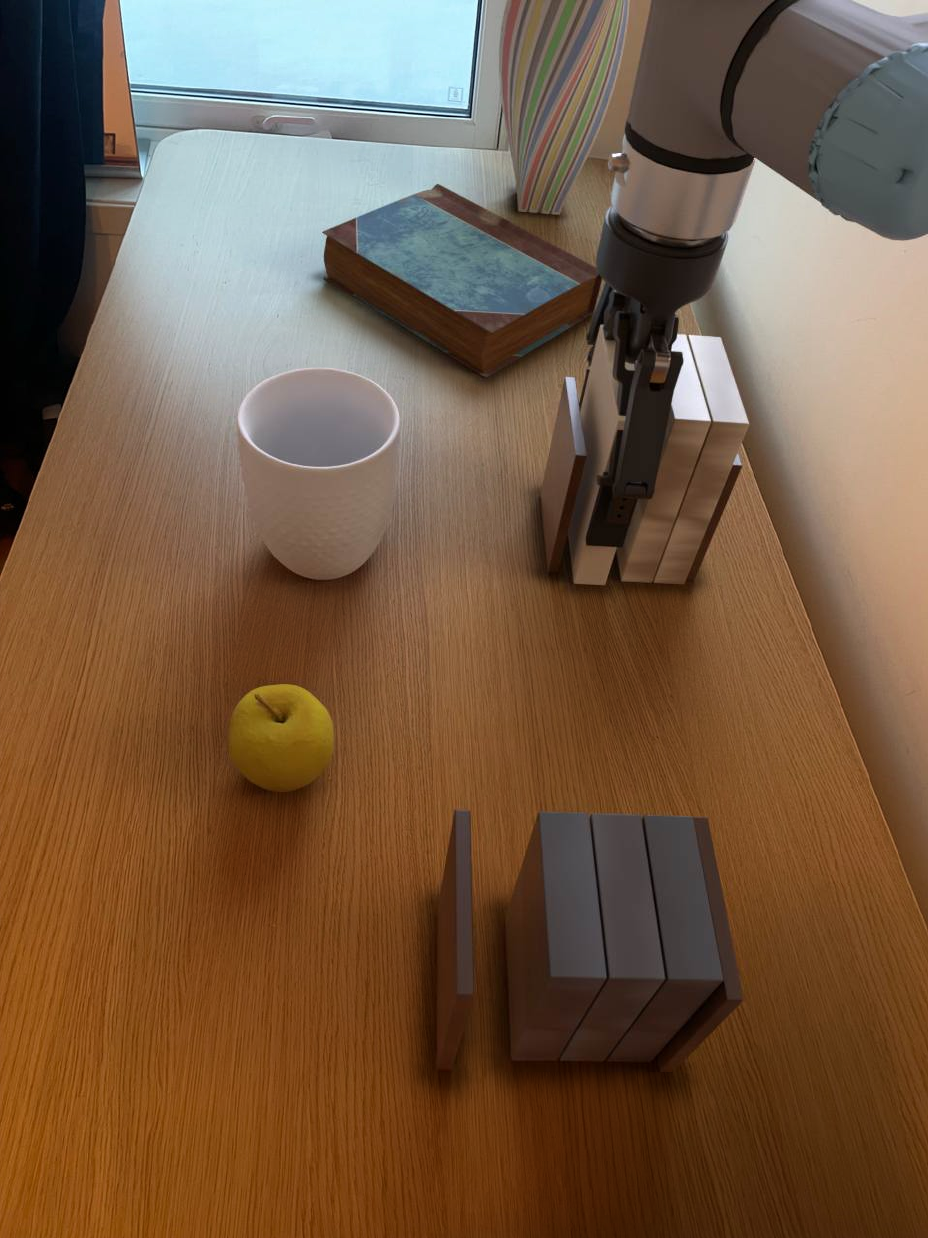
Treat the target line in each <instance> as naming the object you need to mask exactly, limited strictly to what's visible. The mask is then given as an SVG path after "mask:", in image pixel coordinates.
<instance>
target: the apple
mask: <svg viewBox="0 0 928 1238" xmlns="http://www.w3.org/2000/svg"><path fill="white" fill-rule="evenodd" d="M229 723H230V725H229V735H228V754H229V758H230V759H229V760H230V761H231V762H232V764H233V766H234V767H235V768H236V769H237V770H238V771H239V772H240V774H242V775H243V776H244V777H245V778H246V779H247V780H248V782H250V783H252V784H254V785H256V786H257V787H260V788H261V789H264V790H266V791H270V792H275V793H277V792H278V793H287V792H293V791H296V790H299V789H302V788H304V787H306V786H308V785H310V784H311V783H313V782H314V781H315V780H316V779H317V778H318V777H320V776H321V775H322V774H323V772H325V770H326V768H327V767H328V765H329V763H330V761H331V759H332V756H333V752H334V744H335V743H334V742H335V731H334V723H333V720H332V717H331V715H330V712H329V711H328V710H327V707H325V706H324V705H323V704H322V702H320V700H319V699H318V698H316V697H315V696H314V695H313V694H312V693H311V691H309V690H307V689H305V688H304V687H301V686H298V685H295V684H288V683H279V684H269V685H263V686H259V687H256V688H254V689H252V690H250V691H249V692H248V693H246V694H245V695H244V696H243V697H242V698H241V699H240V700H239V702H238V703H237V705H236V706H235V708H234V710H233V713H232V715H231V718H230V722H229Z"/></svg>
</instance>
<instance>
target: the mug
mask: <svg viewBox="0 0 928 1238" xmlns="http://www.w3.org/2000/svg"><path fill="white" fill-rule="evenodd" d="M236 428H237V430H236V431H237V438H238V439H237V440H238V452H239V460H240V464H239V465H240V468H241V476H242V481H243V485H244V493H245V494H244V495H245V497H246V502H247V507H248V509H249V511H250V516H251V517H250V518H252V519H251V520H252V521H253V522H254V525H255V529H256V531H257V532H258V533H259V536H260V539H261V540H262V542H263V543H264V544H265V546H266V548H267V550H268V551H269V552H270V553H271V555H272V556H273V557H274V558H275V559H276V560H278V562H280V564H282V565H283V566H284V567H285V568H287V569H288V570H290V571H291V572H293V573H295V574H297V575H298V576H301V577H304V578H307V579H312V580H317V581H325V580H326V581H328V580H336V579H340V578H342V577H345V576H347V575H350V574H352V573H354V572H355V571H357V570H358V569H359V568H361V567H362V566H363V565H364V564H365V563H366V562H367V561H368V559H369V558H371V556H372V554H373V553H374V552H376V550H377V548H378V546H379V544H380V543H381V541H382V537H383V536H384V535H385V533H386V531H387V526H388V524H389V522H390V517H391V515H392V512H393V506H394V503H395V499H396V492H397V486H398V485H397V483H398V482H397V481H398V480H397V479H398V475H399V462H400V447H401V443H400V437H401V435H400V434H401V417H400V412H399V409H398V406H397V404H396V403H395V400H394V399H393V398H392V396H391V395H390V394H389V393H388V392H387V391H386V390H385V389H384V388H383V387H382V386H380V385H379V384H378V383H376V382H375V381H373V380H371V379H370V378H367V377H366V376H364V375H361V374H357V373H355V372H351V371H348V370H344V369H338V368H332V367H306V368H297V369H292V370H288V371H284V372H281V373H279V374H275V375H273V376H270V377H268V378H267V379H264V380H263V381H261V382H259V383H258V384H257V385H255V386H254V387H253V388H252V389H251V390H250V391H249V392H248V393H247V394H246V395H245V397H244V398H243V399H242V401H241V403H240V404H239V408H238V410H237V417H236Z"/></svg>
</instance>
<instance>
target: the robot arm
mask: <svg viewBox="0 0 928 1238" xmlns="http://www.w3.org/2000/svg"><path fill="white" fill-rule="evenodd" d="M649 4H650V6H649V10H648V14H647V15H648V16H647V20H646V26H645V29H644V35H643V40H642V45H641V48H640V49H641V51H640V55H639V59H638V63H637V64H638V65H637V69H636V72H635V73H636V74H635V78H634V83H633V87H632V93H631V98H630V102H629V107H628V113H627V117H626V120H625V125H624V133H623V137H622V140H621V141H622V148H621V152H614V153H613V152H612V153H610V155H609V156H608V161H607V166H606V167H607V169H609V171H610V172H614V173H615V174H614V179H613V184H612V187H611V193H610V203H611V205H610V206H609V207H608V208H607V210H606V212H605V215H604V220H603V225H602V229H601V234H600V238H599V239H600V240H599V243H598V248H597V252H596V258H595V264H596V268H597V269H598V272H599V274H600V276H601V277H602V281H604V284H603V287H602V290H601V294H600V297H599V299H598V302H597V304H596V307H595V310H594V313H593V317H592V319H591V323H590V325H589V329H588V332H587V333H586V336H585V337H586V342H587V345H588V346H591V348H590V349H589V351H588V354H587V356H586V357H587V358H586V361H587V365H588V367H591V363H592V358H593V354H594V350H595V346H596V341H597V337H598V333H599V328H600V325H604V326H603V333H604V339H605V340H616V346H615V355H614V363H613V372H612V374H613V378H614V379H615V380H616V381H617V382H618V385H619V386H618V394H617V407H618V412H619V416H626V418H625V424H624V430H617V434H616V437H615V441H614V444H613V448H612V452H611V455H610V464H609V472H603V476H602V475H597V484H598V485H600V487H599V490H598V494H597V498H596V501H595V505H594V508H593V512H592V516H591V519H590V523H589V527H588V530H587V534H586V538H585V539H586V546H604V547H623V544H624V541H625V538H626V535H627V532H628V529H629V526H630V522H631V519H632V516H633V513H634V510H635V507H636V504H637V501H638V499H650V500H651V499H652V497H653V494H654V492H655V483H656V478H657V473H658V468H659V463H660V458H661V453H662V448H663V443H664V438H665V433H666V428H667V423H668V418H669V414H670V409H671V404H672V399H673V394H674V389H675V386H676V383H677V380H678V377H679V374H680V371H681V368H682V366H683V363H684V359H683V353H682V352H677V351H671V350H672V345H673V343H674V342H675V341H676V339H677V334H679V326H680V325H679V324H680V318H679V315H676V313H677V311H678V310H680V309H681V308H683V307H685V306H687V305H689V304H691V303H695V302H696V301H699V300H701V299H703V298H704V297H705V296H707V294H709V292H710V291H711V290H712V289H713V286H714V284H715V282H716V278H717V277H718V276H717V275H718V273H719V271H720V270H719V269H720V266H721V263H722V260H723V258H724V255H725V251H726V249H727V245H728V242H729V233H728V232H729V231H730V230H732V228H733V226H734V224H736V221H737V218H738V216H739V215H738V214H739V212H740V208H741V206H742V203H743V200H744V197H745V194H746V191H747V188H748V184H749V182H750V178H751V175H752V172H753V169H754V166H755V163H756V160H758V161H759V162H760V163H762V164H763V165H765V166H766V167H768V168H769V169H770V170H772V171H773V172H775V173H776V174H778V175H779V176H781V177H783V178H784V179H785V180H787V181H788V182H790V183H791V184H792V185H794V186H796V187H797V188H799V190H802V192H804V193H806V194H807V195H808V196H810V197H812V198H813V199H815V200H816V201H817V202H819V203H820V205H821V206H822V207H823V208H825V209H826V210H828V211H829V213H831V214H833V215H834V216H840V217H841V218H842V219H843V220H845V221H846V222H850V223H856V224H857V225H860V226H861V227H863V228H865V229H867V230H869V231H871V232H873V233H874V234H876V235H877V236H879V237H882V238H884V239H887V240H890V241H900V242H901V241H902V242H903V241H904V242H905V241H910V240H917V239H919V238H921V237H924V236H926V235H928V12H923V13H917V14H910V15H905V16H897V15H891V14H886V13H883V12H880V11H878V10H875V9H873V8H870V7H868V6H866V5H864V4H861V3H860V2H857V1H854V0H650V3H649ZM625 362H627V363H629V364H634V369H635V370H627V369H626V368H625ZM589 371H590V369H586V371H585V377H584V380H583V385H582V388H581V393H580V398H579V407H580V410H581V406H582V402H583V397H584V393H585V389H586V384H587V380H588V376H589Z"/></svg>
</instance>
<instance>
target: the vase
mask: <svg viewBox="0 0 928 1238" xmlns="http://www.w3.org/2000/svg"><path fill="white" fill-rule="evenodd" d="M629 16H630V0H506V2H505V6H504V11H503V16H502V22H501V27H500V37H499V47H498V48H499V49H498V72H499V73H498V74H499V75H498V76H499V89H500V99H501V108H502V113H503V118H504V120H503V121H504V127H505V131H506V137H507V142H508V146H509V152H510V156H511V162H512V167H513V173H514V178H515V187H516V188H515V189H516V199H517V211H518V212H523V213H527V212H528V213H531V214H533V213H534V214H537V213H539V214H546V215H557V216H560V214H561V212H562V209H563V207H564V204H565V202H566V201H567V198H568V197H569V194H570V192H571V191H572V189H573V187H574V185H575V183H576V181H577V179H578V177H579V175H580V173H581V171H582V169H583V168H584V165H585V164H586V161H587V158H588V157H589V155H590V153H591V151H592V148H593V146H594V144H595V143H596V139H597V137H598V135H599V132H600V129H601V127H602V125H603V122H604V119H605V117H606V115H607V112H608V108H609V105H610V102H611V99H612V96H613V94H614V90H615V87H616V84H617V79H618V76H619V73H620V69H621V65H622V59H623V54H624V49H625V43H626V39H627V31H628V24H629Z"/></svg>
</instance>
